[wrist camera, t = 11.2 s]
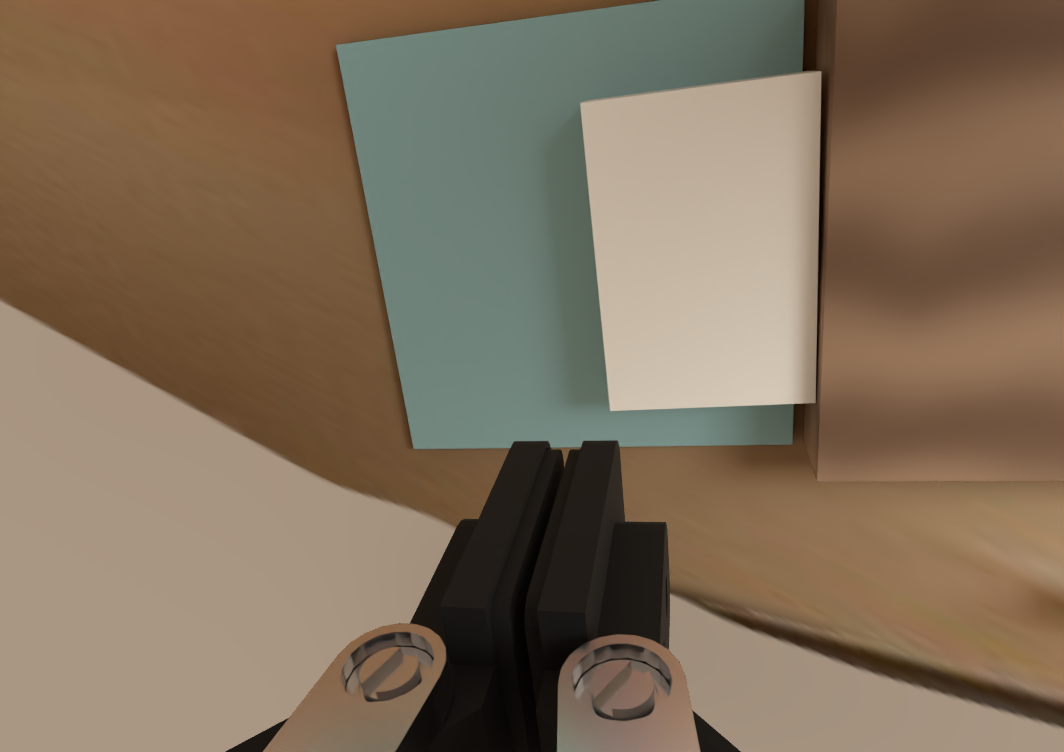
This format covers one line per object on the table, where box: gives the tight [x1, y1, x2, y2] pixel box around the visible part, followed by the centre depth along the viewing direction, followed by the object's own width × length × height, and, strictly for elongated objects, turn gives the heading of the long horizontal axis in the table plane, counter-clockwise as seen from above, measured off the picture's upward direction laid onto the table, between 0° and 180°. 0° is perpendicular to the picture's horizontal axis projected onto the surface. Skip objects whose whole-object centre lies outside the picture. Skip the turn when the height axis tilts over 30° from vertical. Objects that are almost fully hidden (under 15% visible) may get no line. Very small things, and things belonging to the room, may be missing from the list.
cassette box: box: [580, 71, 821, 411], centre depth 28 cm, size 12×8×2 cm, turn 7°
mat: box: [336, 0, 805, 449], centre depth 30 cm, size 18×18×1 cm
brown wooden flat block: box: [803, 0, 1064, 481], centre depth 25 cm, size 18×16×4 cm
